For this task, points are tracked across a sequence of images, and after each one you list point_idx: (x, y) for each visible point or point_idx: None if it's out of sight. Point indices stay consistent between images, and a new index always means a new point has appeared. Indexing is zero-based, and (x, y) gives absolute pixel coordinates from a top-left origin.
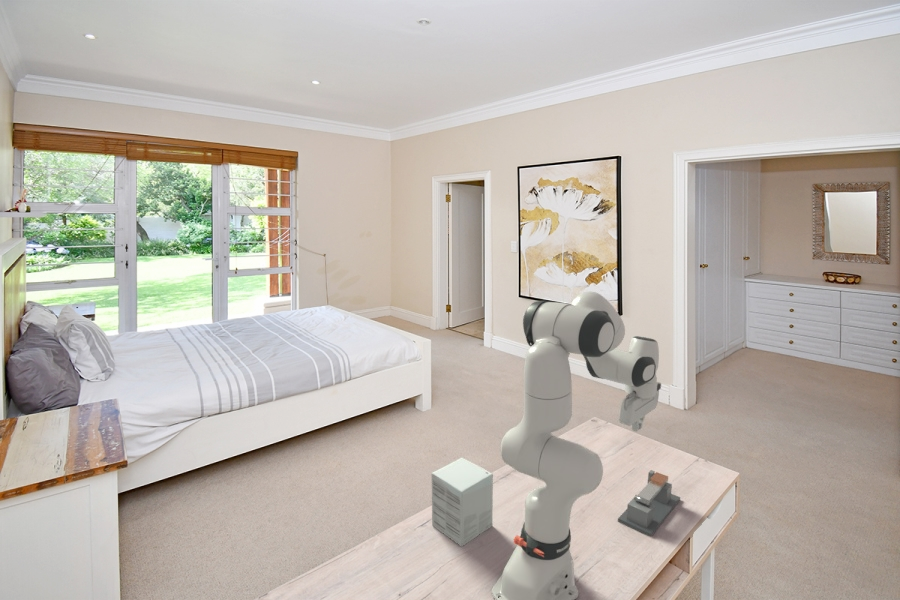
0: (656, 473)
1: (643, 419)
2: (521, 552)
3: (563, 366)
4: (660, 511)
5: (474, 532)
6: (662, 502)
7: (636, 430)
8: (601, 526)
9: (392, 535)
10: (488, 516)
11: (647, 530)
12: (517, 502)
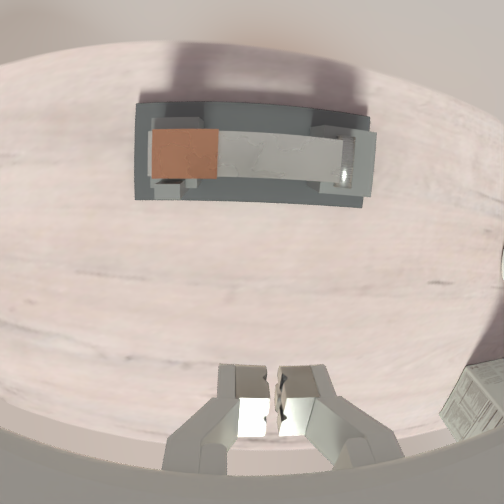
0: (162, 173)
1: (205, 428)
2: None
3: None
4: (253, 121)
5: (496, 365)
6: None
7: (324, 373)
8: (396, 230)
9: None
10: (483, 377)
11: (363, 128)
12: (399, 384)
